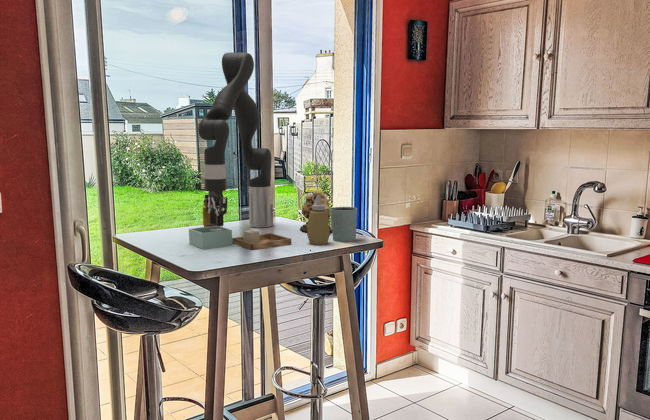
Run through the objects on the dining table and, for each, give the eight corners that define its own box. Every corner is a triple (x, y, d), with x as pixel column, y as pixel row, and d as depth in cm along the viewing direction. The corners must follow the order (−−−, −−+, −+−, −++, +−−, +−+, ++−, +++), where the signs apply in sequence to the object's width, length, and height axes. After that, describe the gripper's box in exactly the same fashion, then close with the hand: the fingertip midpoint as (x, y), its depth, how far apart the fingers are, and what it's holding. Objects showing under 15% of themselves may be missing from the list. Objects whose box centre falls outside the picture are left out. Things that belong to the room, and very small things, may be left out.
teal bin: (218, 241, 202) (217, 225, 201) (232, 246, 193) (231, 230, 192) (189, 245, 195) (188, 228, 195) (202, 250, 187) (201, 233, 186)
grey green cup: (355, 243, 200) (355, 210, 198) (328, 242, 201) (328, 209, 200) (358, 237, 210) (358, 206, 208) (332, 236, 211) (332, 206, 210)
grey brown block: (219, 242, 198) (219, 228, 198) (224, 243, 195) (224, 230, 194) (209, 243, 196) (209, 229, 195) (214, 245, 193) (213, 231, 192)
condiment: (203, 226, 235) (202, 198, 233) (223, 226, 236) (222, 198, 235) (201, 229, 228) (201, 200, 226) (222, 228, 229) (221, 200, 228)
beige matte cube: (252, 243, 195) (252, 229, 195) (259, 245, 193) (259, 231, 192) (243, 245, 193) (243, 231, 192) (250, 247, 190) (250, 232, 189)
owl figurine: (291, 229, 228) (291, 188, 225) (315, 227, 234) (315, 187, 232) (315, 236, 213) (315, 192, 211) (340, 233, 219) (340, 190, 217)
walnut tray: (271, 239, 205) (270, 233, 205) (291, 246, 194) (291, 238, 194) (232, 245, 196) (232, 237, 196) (251, 251, 185) (251, 244, 184)
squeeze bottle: (303, 246, 194) (303, 195, 191) (312, 242, 201) (311, 193, 199) (325, 247, 191) (325, 196, 189) (332, 243, 199) (333, 194, 196)
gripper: (234, 178, 189) (235, 226, 191) (216, 175, 200) (217, 221, 203) (214, 179, 184) (215, 228, 187) (196, 176, 196) (198, 223, 198)
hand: (216, 224), depth 195 cm, fingers open, 5 cm apart
